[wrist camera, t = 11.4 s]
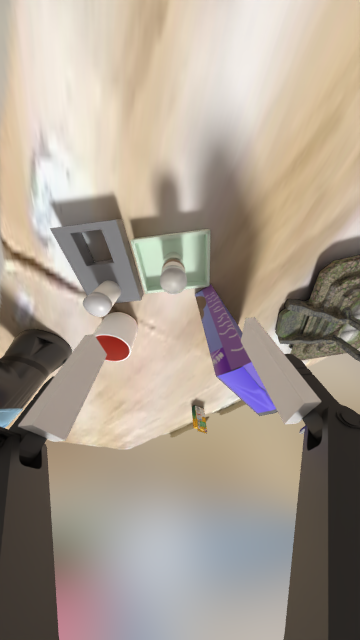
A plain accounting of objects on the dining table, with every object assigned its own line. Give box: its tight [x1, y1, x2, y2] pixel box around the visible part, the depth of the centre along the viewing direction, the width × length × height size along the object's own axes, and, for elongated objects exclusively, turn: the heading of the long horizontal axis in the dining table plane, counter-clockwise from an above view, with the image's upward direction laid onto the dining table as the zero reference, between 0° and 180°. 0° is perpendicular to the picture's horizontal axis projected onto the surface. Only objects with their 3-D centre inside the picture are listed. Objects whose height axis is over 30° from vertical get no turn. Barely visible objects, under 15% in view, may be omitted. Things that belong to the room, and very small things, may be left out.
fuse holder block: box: [50, 219, 143, 317], centre depth 28 cm, size 12×16×11 cm
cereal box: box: [195, 284, 278, 416], centre depth 31 cm, size 17×5×24 cm, turn 37°
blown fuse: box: [160, 252, 187, 294], centre depth 27 cm, size 4×4×11 cm
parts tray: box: [131, 229, 211, 294], centre depth 31 cm, size 15×11×3 cm
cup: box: [94, 312, 138, 361], centre depth 39 cm, size 10×10×10 cm
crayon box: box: [192, 405, 207, 433], centre depth 75 cm, size 7×3×12 cm, turn 48°
